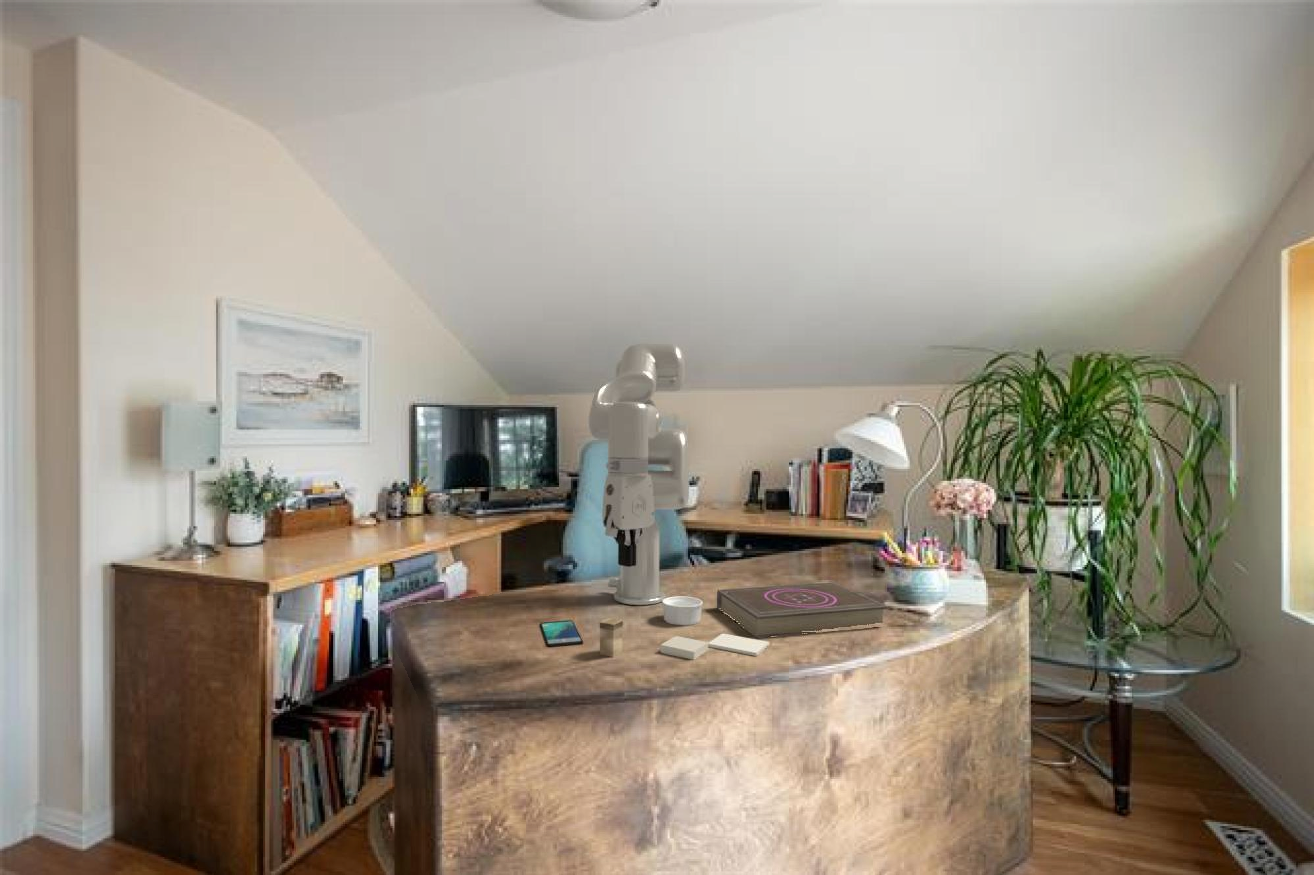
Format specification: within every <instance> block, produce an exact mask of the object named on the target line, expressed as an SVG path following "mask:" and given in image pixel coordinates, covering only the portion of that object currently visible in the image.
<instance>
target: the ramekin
mask: <svg viewBox="0 0 1314 875" xmlns="http://www.w3.org/2000/svg"><path fill="white" fill-rule="evenodd" d="M661 604H662V606H663V607H662V608H663V620H664V621H665V622H666V623H667V624H670V625H672V626H673V625H674V626H692V625H696V624H698V623H700V621H701V618H702V617H701V616H702V608H703V607H702V606H703V604H704V602H703V600H701V599H699V598H698V597H697V598H696V597H693V596H685V595H683V596H682V595H680V596H677V595H676V596H671V597H670V596H669V597H665V599H664V600H663V601H661Z"/></svg>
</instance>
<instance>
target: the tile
mask: <svg viewBox="0 0 1314 875" xmlns="http://www.w3.org/2000/svg"><path fill="white" fill-rule="evenodd" d="M708 643H709V642H708V641H703V640H698V639H694V638H693V639H692V638H689V637H688V638H687V637H683V636H677V635H675V636H673V637H672V638H670V639H668V640H667V641H665V642H663V643H661V644H660V654H665V655H670V656H674V657H675V656H676V657H679V658H684V659H688V660H692V661H693V660H696V659H697V658H699V657H700V656H702V655H703V654H704V653H706V652H707V651H709V647H708Z"/></svg>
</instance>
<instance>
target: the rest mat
mask: <svg viewBox="0 0 1314 875" xmlns="http://www.w3.org/2000/svg"><path fill="white" fill-rule="evenodd" d="M767 646H768V647H769V646H770V641H767V640H761V639H757V638H749V637H744V636H739V635H734V634H733V635H732V634H727V633H721V634H719V635H718V636H717V637H714V639H712V640H710V641H709V642H708V648H713V649H718V650H724V651H729V652H734V653H738V654H744V655H749V656H754V657H757V656H759V655H760V654H761V653H762V652H764V651H765V650H766V649H767V648H768V647H767ZM765 648H766V649H765Z"/></svg>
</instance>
